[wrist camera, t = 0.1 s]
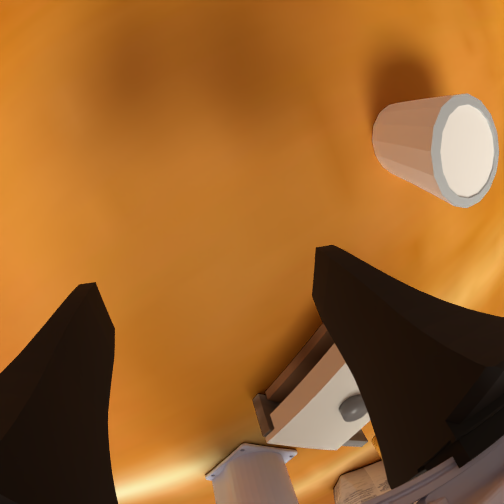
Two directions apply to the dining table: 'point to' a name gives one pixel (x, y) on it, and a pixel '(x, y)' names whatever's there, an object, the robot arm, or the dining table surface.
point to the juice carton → (361, 485)
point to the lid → (321, 408)
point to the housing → (291, 380)
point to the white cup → (440, 146)
